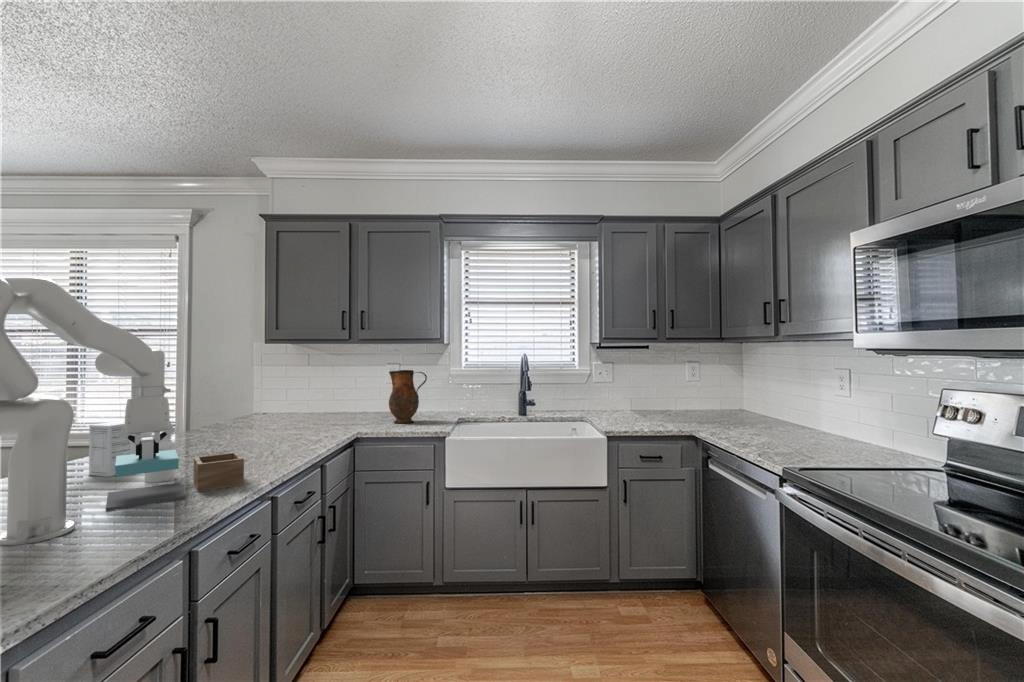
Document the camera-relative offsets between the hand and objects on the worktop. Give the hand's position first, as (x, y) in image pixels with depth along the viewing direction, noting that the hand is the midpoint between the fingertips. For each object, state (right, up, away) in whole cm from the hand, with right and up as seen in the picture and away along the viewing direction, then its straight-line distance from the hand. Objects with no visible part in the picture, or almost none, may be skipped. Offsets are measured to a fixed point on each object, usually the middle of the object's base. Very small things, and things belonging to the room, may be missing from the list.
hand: (147, 456), depth 135 cm
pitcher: (+44, -14, +136) cm, 143 cm away
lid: (0, -3, 0) cm, 3 cm away
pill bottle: (-9, -12, +17) cm, 23 cm away
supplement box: (-31, -12, +25) cm, 41 cm away
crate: (+12, -12, +13) cm, 21 cm away
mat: (0, -11, 0) cm, 11 cm away
